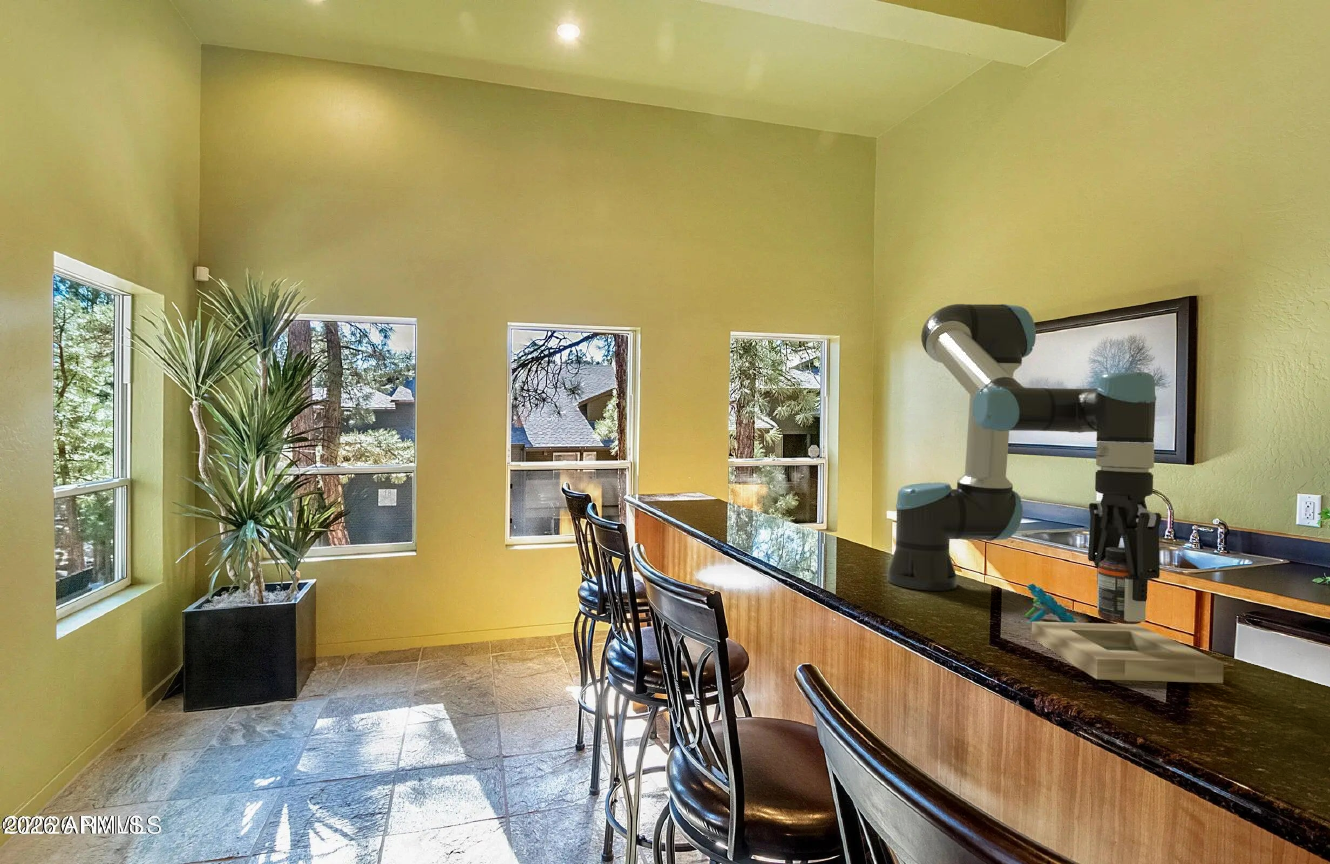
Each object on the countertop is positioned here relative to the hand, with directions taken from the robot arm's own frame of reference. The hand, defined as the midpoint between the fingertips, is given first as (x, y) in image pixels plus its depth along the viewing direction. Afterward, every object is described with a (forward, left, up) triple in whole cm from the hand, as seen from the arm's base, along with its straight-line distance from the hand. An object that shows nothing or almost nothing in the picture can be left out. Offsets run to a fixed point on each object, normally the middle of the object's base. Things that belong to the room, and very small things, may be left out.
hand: (1120, 614), depth 104 cm
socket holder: (0, 0, -7) cm, 7 cm away
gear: (-18, -1, -7) cm, 20 cm away
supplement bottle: (0, 0, -1) cm, 1 cm away
